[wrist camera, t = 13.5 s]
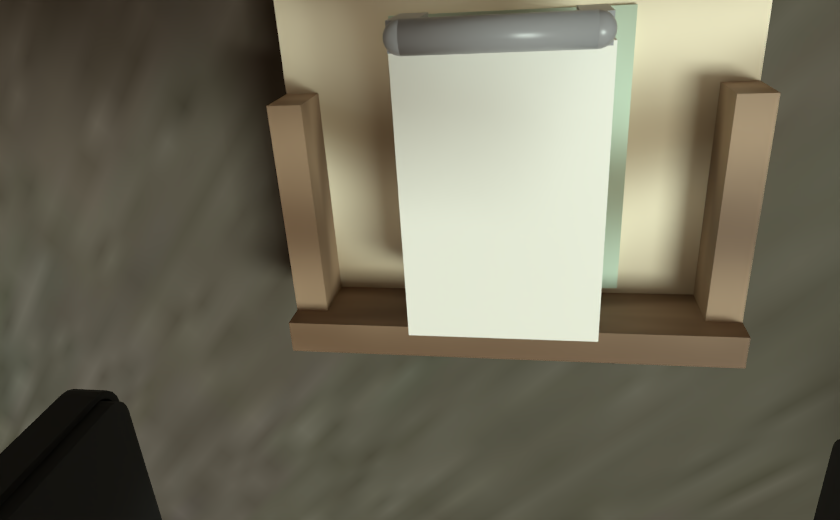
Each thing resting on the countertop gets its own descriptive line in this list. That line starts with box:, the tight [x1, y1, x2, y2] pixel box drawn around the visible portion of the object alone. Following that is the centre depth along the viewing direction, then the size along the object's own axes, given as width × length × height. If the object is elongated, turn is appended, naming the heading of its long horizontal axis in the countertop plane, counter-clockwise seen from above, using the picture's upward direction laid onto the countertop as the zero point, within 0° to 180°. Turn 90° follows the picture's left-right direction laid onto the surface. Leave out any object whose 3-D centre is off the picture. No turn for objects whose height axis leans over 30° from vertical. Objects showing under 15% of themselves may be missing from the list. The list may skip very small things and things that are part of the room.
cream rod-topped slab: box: [383, 4, 618, 342], centre depth 21 cm, size 10×6×6 cm, turn 3°
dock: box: [266, 0, 780, 368], centre depth 23 cm, size 16×16×6 cm
